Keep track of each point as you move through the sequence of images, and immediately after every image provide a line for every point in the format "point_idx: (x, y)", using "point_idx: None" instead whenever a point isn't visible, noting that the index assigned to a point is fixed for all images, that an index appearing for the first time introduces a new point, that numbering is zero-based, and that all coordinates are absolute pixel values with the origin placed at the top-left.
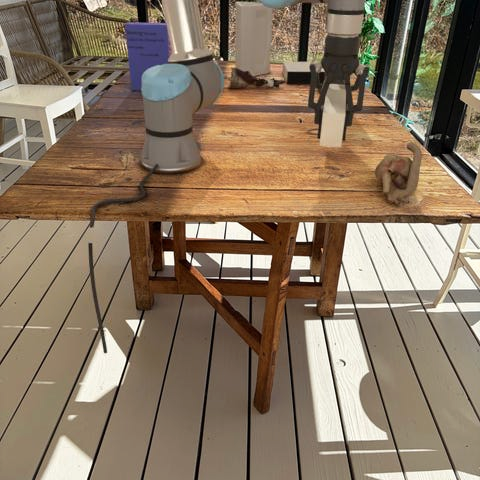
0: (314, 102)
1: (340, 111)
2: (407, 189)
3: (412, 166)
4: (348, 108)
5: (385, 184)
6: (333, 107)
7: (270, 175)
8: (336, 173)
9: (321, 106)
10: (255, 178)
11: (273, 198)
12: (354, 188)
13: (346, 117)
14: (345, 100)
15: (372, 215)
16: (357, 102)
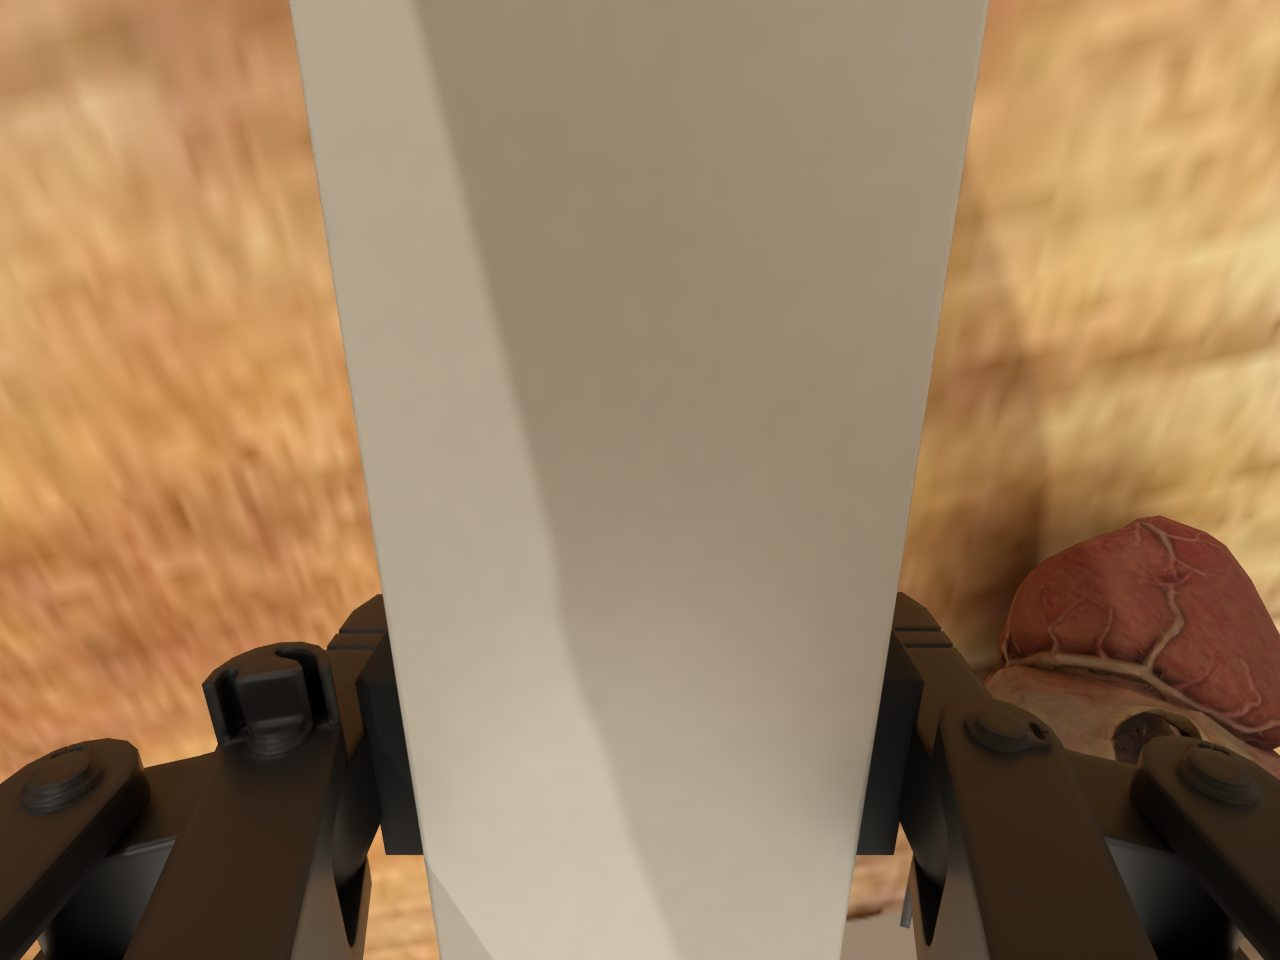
0: (141, 866)
1: (752, 944)
2: None
3: (1254, 952)
4: (921, 938)
5: None
6: (613, 761)
7: (263, 591)
8: None
9: (363, 947)
10: (189, 652)
11: (378, 849)
12: None
13: None
14: (983, 2)
15: (868, 906)
16: (1218, 898)
